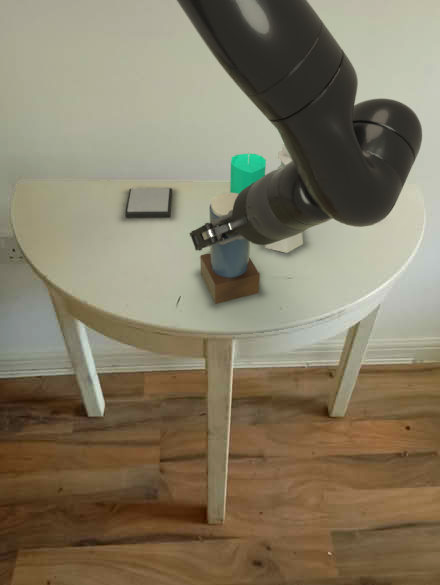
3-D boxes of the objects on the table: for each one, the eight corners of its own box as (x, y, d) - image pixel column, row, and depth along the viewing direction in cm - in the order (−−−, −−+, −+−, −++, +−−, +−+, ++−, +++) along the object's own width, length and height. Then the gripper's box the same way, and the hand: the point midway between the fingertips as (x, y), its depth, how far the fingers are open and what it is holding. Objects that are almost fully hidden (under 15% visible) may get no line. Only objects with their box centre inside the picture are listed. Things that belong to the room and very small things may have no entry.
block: (215, 304, 75) (215, 285, 72) (200, 274, 80) (200, 255, 77) (258, 293, 77) (260, 274, 74) (241, 264, 82) (242, 245, 79)
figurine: (269, 256, 83) (278, 159, 70) (255, 227, 89) (261, 132, 76) (309, 249, 84) (325, 153, 71) (293, 221, 90) (305, 127, 77)
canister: (217, 281, 73) (217, 220, 65) (205, 256, 77) (203, 196, 69) (254, 272, 74) (259, 211, 67) (240, 248, 78) (242, 188, 70)
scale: (125, 218, 90) (124, 211, 89) (130, 193, 96) (129, 186, 95) (170, 217, 90) (169, 211, 90) (172, 192, 96) (171, 186, 95)
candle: (224, 217, 90) (225, 158, 82) (236, 200, 94) (238, 141, 86) (256, 225, 89) (260, 165, 80) (266, 207, 93) (271, 148, 84)
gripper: (315, 159, 60) (257, 193, 75) (211, 193, 55) (171, 222, 70) (336, 219, 60) (275, 241, 75) (235, 257, 55) (190, 272, 70)
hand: (225, 232), depth 73 cm, fingers open, 8 cm apart
